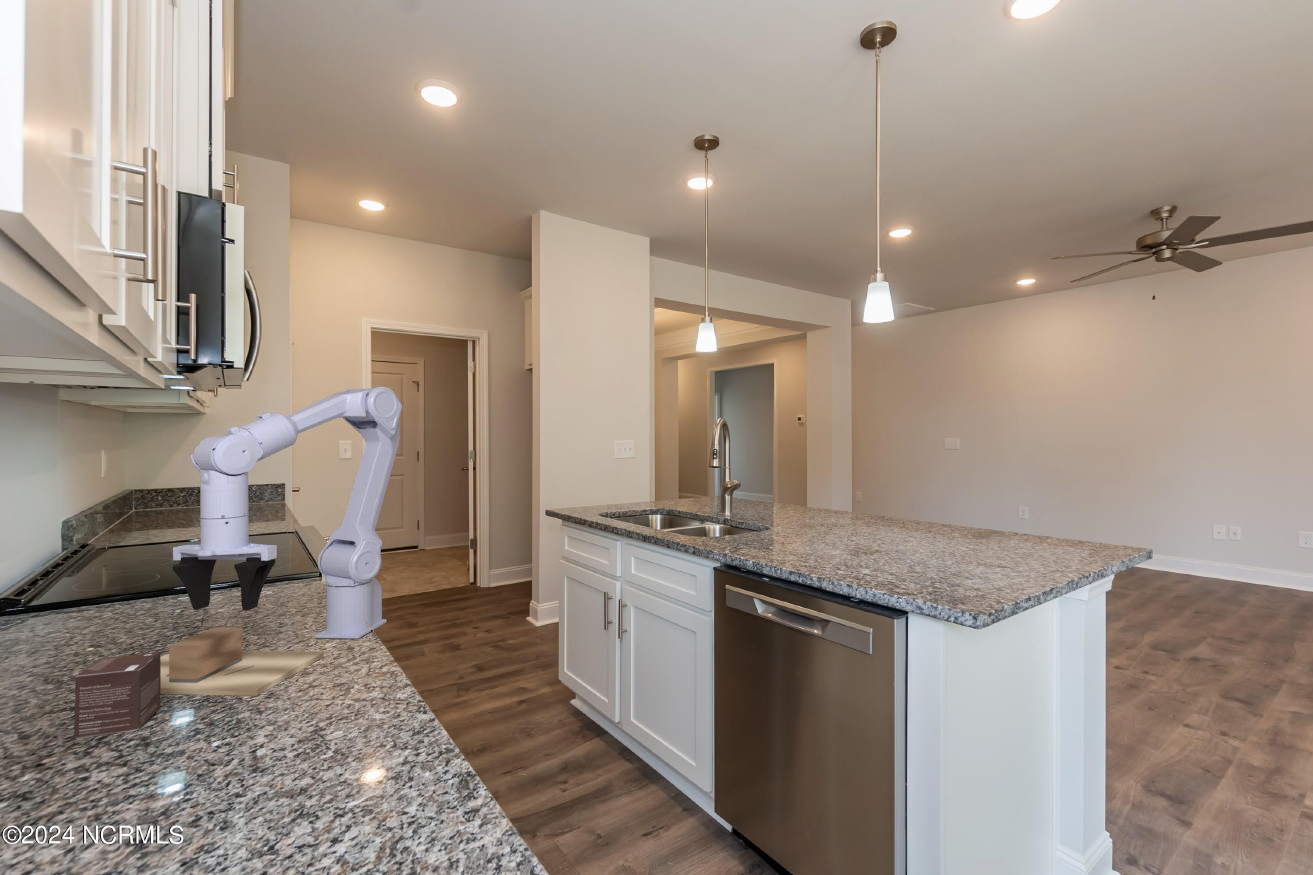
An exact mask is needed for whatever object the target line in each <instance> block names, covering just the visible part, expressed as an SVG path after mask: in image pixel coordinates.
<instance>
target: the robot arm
mask: <svg viewBox="0 0 1313 875" xmlns="http://www.w3.org/2000/svg"><path fill="white" fill-rule="evenodd" d="M402 410H403V405H402V403H401V402H400V400H399V398H398V397H397V395H396V393H395V392H394V391H393V390H392V389H391V388H389V387H387V386H376V387H372V388H371V387H370V388H348V389H345V390H343V391H339V392H335V393H333V394H330V395H328V396H326V397H324V398H322V399H320V400H318V401H316V402H314V403H312V404H309V405H308V406H305V407H303V408H301V409H299V410H297V411H295V412H293V413H291V414H288V415H283V414H280V413H277V412H276V413H275V412H274V413H270V412H262V413H261V414H258V415H256V418H257V420H254V421H252V422H249V423H248V424H247V423H246V424H244V425H242V426H239V427H238V426H232V427H229V428H227V429H226V434H225V435H217V436H216V435H215V436H210V437H209V436H208V437H206V438H204V439H202V440H201V441H200V442H199V443H198V444H199V445H196V447H195V449H194V453H193V454H191V455H190V461H191V463H192V465H193V467H194V468H195V469H196V470H197V471H198V472H199V475H200V476H199V477H200V478H199V479H200V489H199V491H200V493H199V494H200V498H199V499H200V501H199V504H200V505H199V506H200V507H199V508H200V509H199V510H200V544H183V545H179V546H174V547H173V548H172V561H179V563H177V564H176V563H175V564H173V565H172V571H173V572H174V573H175V574H176V575H177V576H178V578H179V580H180V581H181V583H182V585H183V586H184V588H185V590H186V592H187V595H188V598H189V600H190V604H191V606H192V609H193V611H200V610H202V609H204V608H207V607H209V606H210V601H211V590H212V589H211V586H212V585H211V584H212V577H213V572H214V568H215V565H216V563H217V561H218V560H236V561H237V560H240V561H241V560H244V561H241V562H239V563H235V564H234V565H233V567H234V570H235V572H236V575H237V578H238V582H239V585H240V586H239V588H240V598H241V599H240V601H241V603H240V604H241V608H242V611H249V610H252V609H255V608H257V607H258V605H259V601H260V598H261V594H262V590H263V588H264V585H265V583H266V580H267V578H268V576H269V574H270V573H271V570H272V569H273V567H274V566H275V564H276V559H277V558H278V556H277V555H278V549H277V548H278V545H276V544H274V545H273V544H261V543H251V542H250V541H249V540H250V537H249V531H250V530H249V529H250V528H249V516H250V515H249V472H250V471H252V469H254V467H255V466H256V464H257V462H260V461H261V460H264V459H267V458H268V457H270V456H272V455H275V454H276V453H279V452H281V451H282V450H285V449H287V448H289V447H292V446H293V445H294V444H295V443H296V442H297V440H298V435H299V434H301V433H304V432H306V431H308V430H310V429H313V428H315V427H318V426H321V425H323V424H325V423H328V422H331V421H333V420H336V419H340V418H341V419H343V420H344V421H345V422H346V423H348V424H349V425H350V426H351V427H352V428H353V429H354V430H356V432H358V434H360V435H361V437H362V438H363V440H364V441H365V446H364V449H363V453H362V456H361V458H360V463H359V466H358V469H357V473H356V477H355V480H354V483H353V486H352V489H351V492H350V497H349V500H348V503H347V507H346V510H345V513H344V517H343V520H342V524H341V525H340V526H339V527H338V528H336V529H335V530H334V531H333V532H332V533H331V534H329V538H328V542H327V543H326V545H325V546H324V548H323V549H322V550H321V551H320V552H319V555H318V558H317V567H318V570H319V572H320V573H321V574H322V575H323V576H324V577H325V578H324V582H325V583H326V629H324V630H322V631H320V632H318V633H316V634H315V635H314V638H316V639H356V640H357V639H361V638H362V637H364V636H365V635H367V634H369V633H371V632H372V631H374V630H375V629H377V628H379V627H380V626H383V625H385V623H387V619H385V618H383V590H382V586H381V583H380V582H379V580H378V579H377V578H375V577H376V576H377V575H378V573H379V571H380V570H381V566H382V555H381V551H382V550H381V549H382V546H383V540H382V539H381V537H380V536H379V534H378V533H377V531H376V527H377V524H378V521H379V517H380V513H381V509H382V506H383V502H384V498H385V496H386V491H387V488H388V486H389V485H388V484H389V480H390V479H391V478H390V476H391V473H392V471H393V470H392V469H393V466H394V463H395V460H396V459H395V458H396V456H397V452H398V448H399V444H400V440H401V434H400V433H401V432H400V417H401V413H402ZM365 621H366V622H365ZM366 623H367V624H368V625H369V626H370V628H371V629H372V631H371V630H370V629H369V627H368V625H367V624H366Z"/></svg>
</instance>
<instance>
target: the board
mask: <svg viewBox="0 0 1313 875" xmlns="http://www.w3.org/2000/svg"><path fill="white" fill-rule="evenodd" d="M322 658H324V651H289V650H288V651H286V650H279V651H278V650H242V661H240V662H238V663H236V664H234V665H232V666H230V667H228V668H226V669H224V670H222V671H220V672H218V673H216V674H214V675H212V676H210V677H208V678H206V679H204V680H202V681H199V682H197V683H184V682H169V653H166V654H164V655H160V661H161V666H160V668H161V673H160V676H161V687H160V695H185V696H186V695H188V696H189V695H192V696H195V695H196V696H233V697H234V696H237V697H238V696H239V697H240V696H242V697H244V696H245V697H258V696H259V695H261V694H263V693H265V692H267V691H268V690H269V689H272V688H273V687H275V686H277V685H278V684H280V683H282V682H284V681H286V680H287V679H288V678H290V677H293V675H296V674H297V673H299V672H300V671H302V670H304V669H305V668H308V667H309V666H310V665H312V664H315V663H316V662H317V661H319V660H321V659H322ZM315 661H316V662H315ZM286 678H287V679H286Z"/></svg>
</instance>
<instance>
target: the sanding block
mask: <svg viewBox="0 0 1313 875" xmlns="http://www.w3.org/2000/svg"><path fill="white" fill-rule="evenodd" d="M168 647H169V650H168V652H169V653H168V654H169V682H184V683H197V682H199V681H202V680H204V679H206V678H208V677H210V676H212V675H214V674H216V673H218V672H220V671H222V670H224V669H226V668H228V667H230V666H232V665H234V664H236V663H238V662H240V661H242V651H243V627H230V626H229V627H226V626H225V627H224V626H222V627H221V626H220V627H219V626H217V627H214V628H212V629H209V630H207V631H204V632H201V633H199V634H196V635H194V636H190V637H189V638H186V639H183V640H181V641H178V642H176V643H173V644H171V645H170V644H169V646H168Z"/></svg>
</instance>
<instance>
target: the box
mask: <svg viewBox="0 0 1313 875" xmlns="http://www.w3.org/2000/svg"><path fill="white" fill-rule="evenodd" d="M161 656H162V655H161V652H159V651H156V652H148V653H141V654H140V653H139V654H130V655H121V656H110V657H104V658H103V657H102V658H101V659H99V660H98V661H96V662H95V663H93V664H92V665H89V666H88V667H87V668H85V669H84V670H83V671H81V672H80V673H78V674H76V675H75V676H74V677H75V678H74V679H75V680H74V681H75V687H74V689H75V690H74V729H73V730H74V731H73V732H74V733H73V734H74V737H73V738H74V739H76V740H80V739H86V738H93V737H100V736H104V735H106V736H107V735H110V734H111V735H112V734H120V733H122V734H123V733H128V732H134V731H138V730H140V729H141V728H142V727H143V726H144V725H145V724H146V723H147V722H148V721H149V719H150V718H151V717H153V716H154V715H155V714H156V712H157V711H159V710H160V709H161V694H160V687H161V676H160V673H161V668H160V666H161V661H160V657H161Z"/></svg>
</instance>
